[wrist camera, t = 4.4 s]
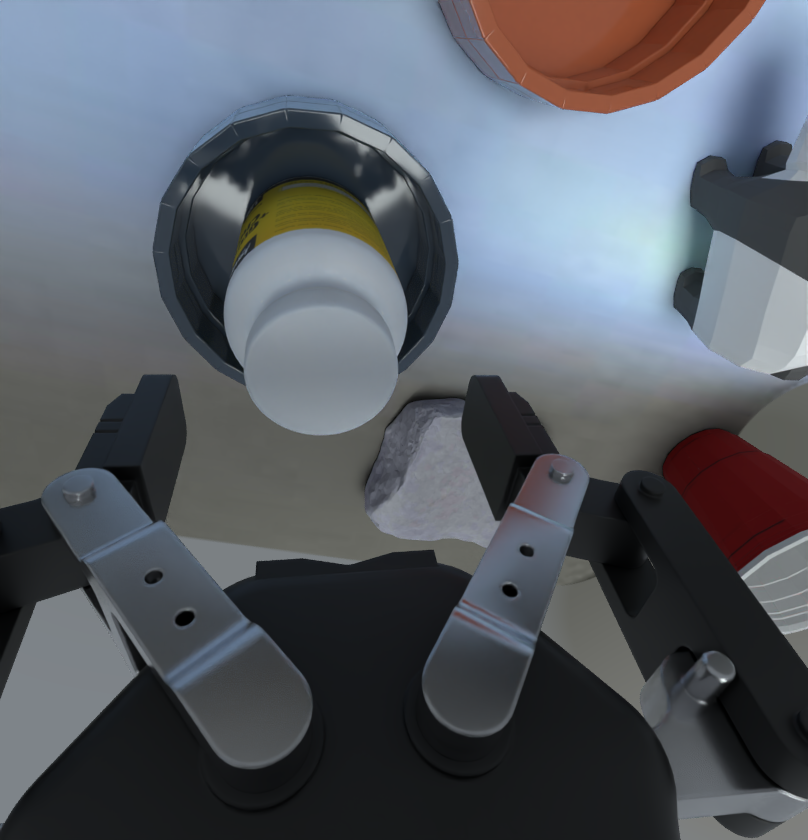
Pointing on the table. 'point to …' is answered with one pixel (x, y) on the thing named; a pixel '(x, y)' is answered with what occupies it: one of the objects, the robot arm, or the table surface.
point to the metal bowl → (283, 159)
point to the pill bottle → (315, 308)
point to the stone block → (428, 478)
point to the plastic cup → (750, 517)
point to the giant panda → (753, 262)
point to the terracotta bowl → (595, 46)
